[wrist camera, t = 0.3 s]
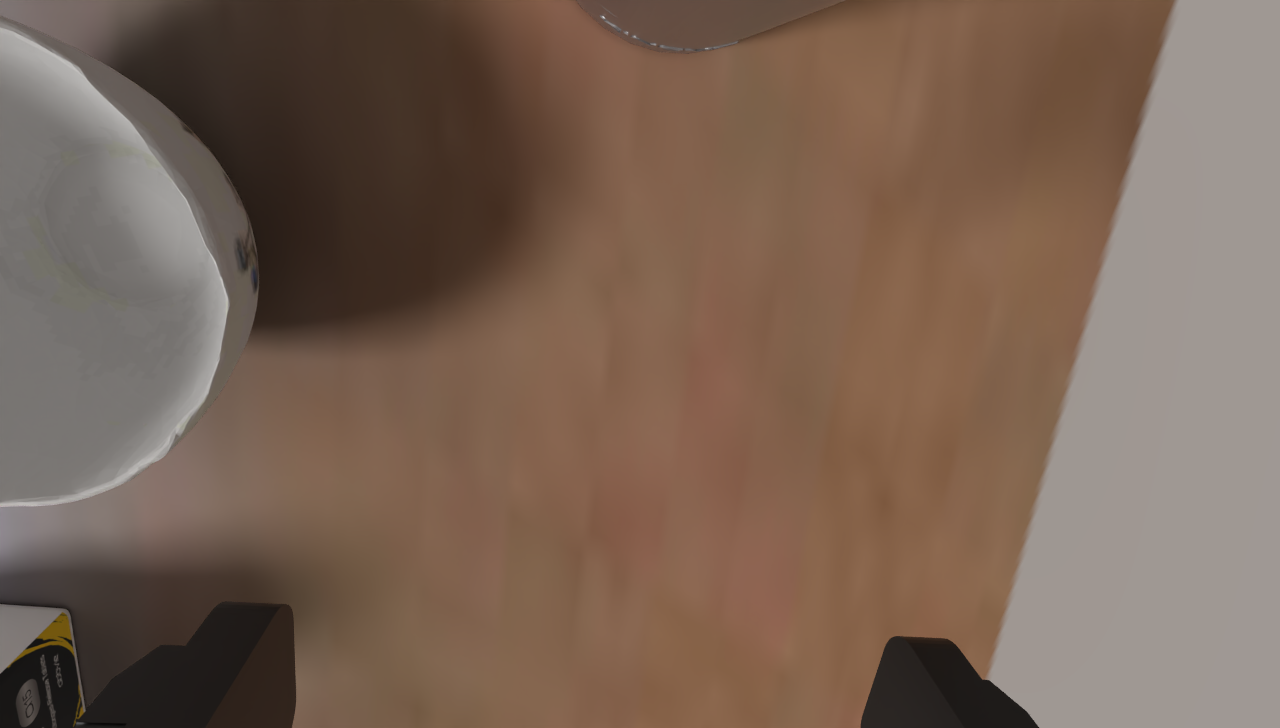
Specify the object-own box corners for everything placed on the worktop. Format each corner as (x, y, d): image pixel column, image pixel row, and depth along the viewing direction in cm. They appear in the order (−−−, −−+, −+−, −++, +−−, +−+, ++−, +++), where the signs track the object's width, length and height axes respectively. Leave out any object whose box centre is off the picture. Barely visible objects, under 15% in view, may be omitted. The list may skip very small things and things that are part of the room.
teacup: (262, -8, 20) (82, -70, 13) (376, 361, 25) (293, 469, 18) (-239, 60, 20) (-724, 35, 12) (-25, 423, 25) (-284, 562, 17)
